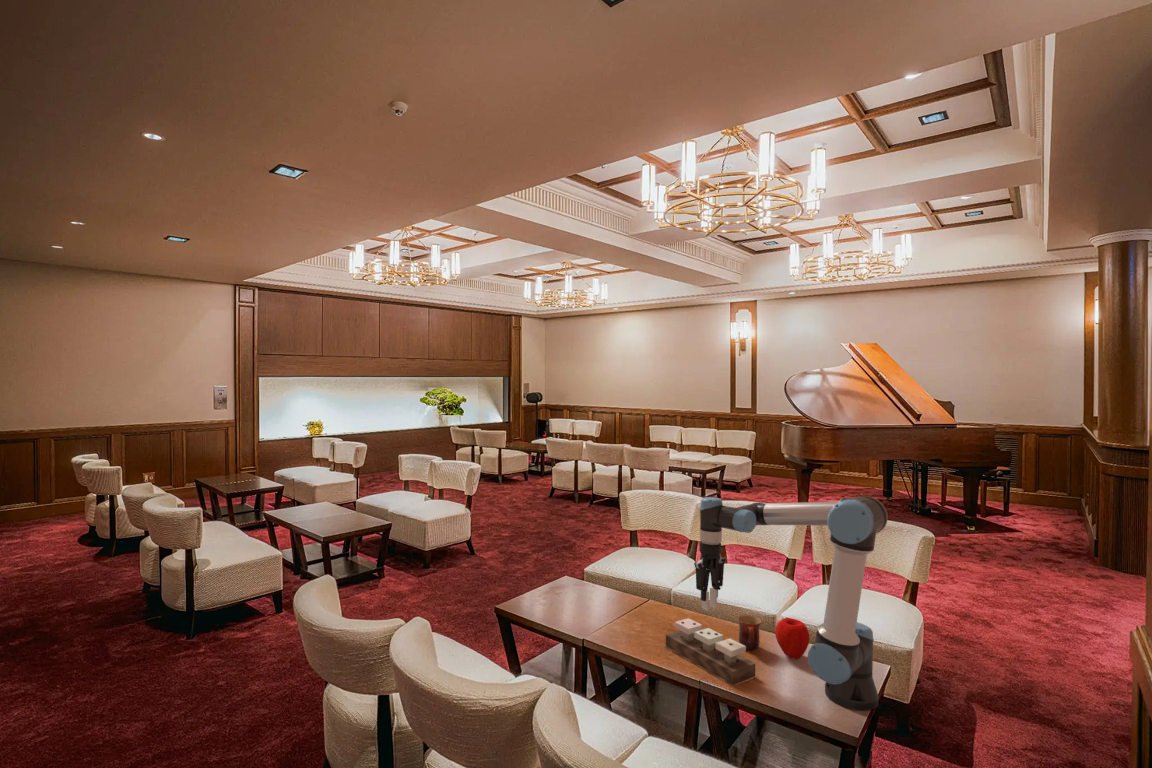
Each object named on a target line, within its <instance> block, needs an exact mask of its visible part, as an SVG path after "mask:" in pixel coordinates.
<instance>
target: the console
mask: <svg viewBox="0 0 1152 768" xmlns="http://www.w3.org/2000/svg"><path fill="white" fill-rule="evenodd" d="M715 645H716V643H715V644H714V651H712V652H707V651H705V650H703V642H702V641H700V640H698V639H696V638H694V640H691V641H686V640H685V639H683V631H681V630H678V631H675V632H670V633H667V634H665V645H664V648H666V649H668V650H669V651H671V652H673V653H674V654H676V655H678V656H680V657H682V658H683V659H685V660H686V661H689V662H690V663H691V664H693V665H695V666H697V667H699V668H700V669H702V670H704V671H706V672H707V673H709V674H711V675H712V676H714V677H715V678H717V679H719V680H721V681H722V682H724V683H725V684H728V685H730V686H731V687H735V686H737V685H740V684H743V683H745V682H748V681H751V680H754V679H755V678H757V675H756V667H757V666H756V663H755V662H754V661H752V660H749V659H748V658H746V657H744V656H742V655H741V654H739V655H736V663H734V664H729V663H727V662H725V661H724V653H722V652H721V651H719V650H717V649H715Z"/></svg>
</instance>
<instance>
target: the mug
mask: <svg viewBox="0 0 1152 768" xmlns="http://www.w3.org/2000/svg"><path fill="white" fill-rule="evenodd" d="M737 622H738V643H740V644H742V645H744V646H746V651H750V652H751V651H757V650H758V649H759V647H760V643H761V642H760V629H761V626H762V623H763V622H762V619H761V618H759V617H757V616H754V615H750V614H749V615H747V614H743V615H739V616H737Z"/></svg>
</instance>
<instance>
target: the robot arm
mask: <svg viewBox="0 0 1152 768" xmlns="http://www.w3.org/2000/svg"><path fill="white" fill-rule="evenodd" d="M699 511H700V512H699V513H700V514H699V515H700V517H699V522H700V523H699V540H700V541H699V552H700V558H699V560H698V561H694V562H693V563H694V567H695V585H696V586H695V588H696V590H698V591H700V600H701V609H702V610H703V611H706V612H709V610H710V609H709V607H710V608H713V609H715V610H716V609H717V608H718V598H719V591H720V590H721V589H722V587H723V585H724V574H725V573H724V569H725V563H726V558H724V557H721V554H722V543H721V542H722V535H723V534H722V533H723V531H722V530H723V529H727V530H731V531H734V532H735V531H736V532H740V533H745V534H746V533H747V534H748V533H749V534H750V533H752V532H753V531H754V529H756V526H821V527H822V526H827V527H828V530H829V531H830V537H829V541H830V543H831V544H832V545H833V547H834V549H833V557H832V564H831V570H830V572H831V573H830V577H829V584H828V591H827V597H826V604H825V610H824V612H825V613H824V618H823V623H821V624H819V625H817V628H816V634H815V639H814V640H815V642H814V643H813V644H812V645H810V648H809V650H808V652H807V661H808V664H809V667H810V669H812V671H813V673H814V674H815V675H816V677H818V678H819V679H820V680H822V681H823V682H825V683H824V693H825V695H826V697H827V698H828V699H829V700H831V701H832V702H834V703H836V704H837V705H840V706H842V707H844V708H847V709H850V710H856V711H871V710H874V709H876V708H877V707H878V706H879V700H880V699H879V693H878V691H877V688H876V685H875V684H876V683H875V680H874V677H873V671H874V670H873V667H874V665H873V664H874V640H875V638H874V633H873V630H872V628H871V627H869V626H868V625H865V624H863V623H860V622H858V616H859V615H858V614H859V610H860V602H861V595H862V589H863V583H864V578H865V577H864V575H865V569H866V561H867V556H868V555H869V554H871V553H872V552H874V551H875V550H874V549H875V542H876V538H877V534H879V533H880V532H881V531H883V530H884V528H886V526H887V524H888V519H889V518H888V517H889V515H888V510H887V509H886V506H884V504H883V503H882V502H881V501H880V500H879V499H877V498H875V497H874V496H869V495H859V496H855V497H843V498H842V497H841V499H839V501H809V502H808V501H806V502H805V501H804V502H802V501H801V502H769V503H768V502H767V503H765V502H760V501H759V502H753V503H750V504H747V505H741V506H738V507H732V506H727V505H723V500H722V499H721V498H719V497H714V496H706V497H705V496H704V497H702V498H701V500H700V508H699ZM709 581H710V582H711V583H710V584H711V587H710V588H708V587H709ZM708 589H709V591H708Z"/></svg>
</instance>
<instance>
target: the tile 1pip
mask: <svg viewBox="0 0 1152 768" xmlns="http://www.w3.org/2000/svg"><path fill="white" fill-rule="evenodd" d="M715 649H717V650H719V651H721V652H722V653H724V661H725V662H727V663H729V664H734V663H736V655H741V654H745V653H746V651H747V650H746V646H744V645H742V644H740V643H739V641H736V640H734V639H732V638H726V639H723V641H720V642H717V643H716V645H715Z"/></svg>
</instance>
